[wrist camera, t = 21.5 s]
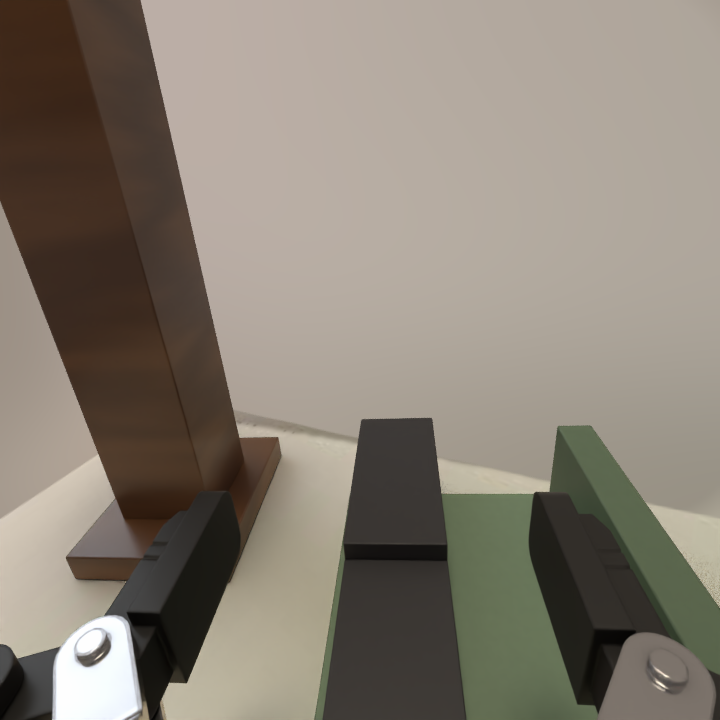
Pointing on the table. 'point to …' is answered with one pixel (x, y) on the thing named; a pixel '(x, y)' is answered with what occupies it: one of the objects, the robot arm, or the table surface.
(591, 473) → the green l-shaped bookend
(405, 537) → the remote
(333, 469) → the table surface
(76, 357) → the stand
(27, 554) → the table surface
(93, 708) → the robot arm
